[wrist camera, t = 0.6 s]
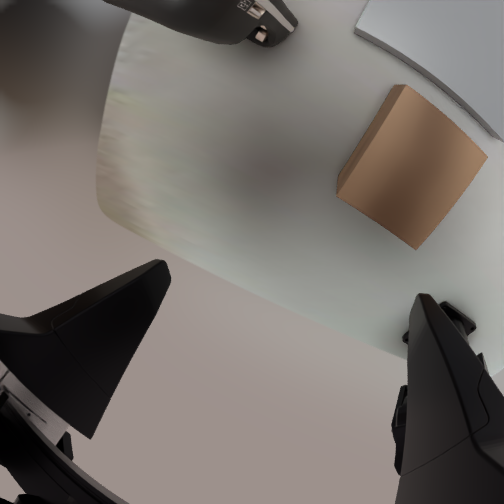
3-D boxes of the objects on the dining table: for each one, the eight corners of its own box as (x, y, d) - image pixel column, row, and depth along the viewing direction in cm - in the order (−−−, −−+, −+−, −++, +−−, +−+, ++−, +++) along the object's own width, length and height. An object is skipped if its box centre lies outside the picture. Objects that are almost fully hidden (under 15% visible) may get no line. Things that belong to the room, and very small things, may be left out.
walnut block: (464, 142, 14) (488, 157, 10) (406, 221, 19) (415, 250, 16) (393, 84, 13) (406, 84, 10) (338, 175, 19) (336, 196, 15)
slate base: (537, 34, 4) (550, 33, 3) (492, 136, 12) (505, 143, 10) (408, -67, 4) (412, -78, 3) (354, 32, 12) (355, 26, 11)
